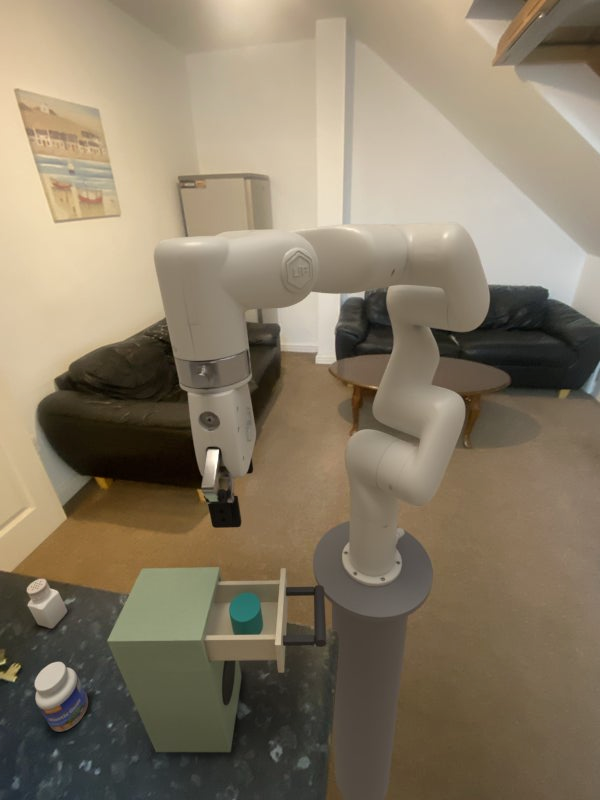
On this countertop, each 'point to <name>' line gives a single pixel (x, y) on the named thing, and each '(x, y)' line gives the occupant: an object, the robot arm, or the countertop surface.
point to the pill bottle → (60, 696)
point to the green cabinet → (176, 661)
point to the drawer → (274, 615)
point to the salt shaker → (45, 604)
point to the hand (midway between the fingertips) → (235, 496)
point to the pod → (246, 614)
